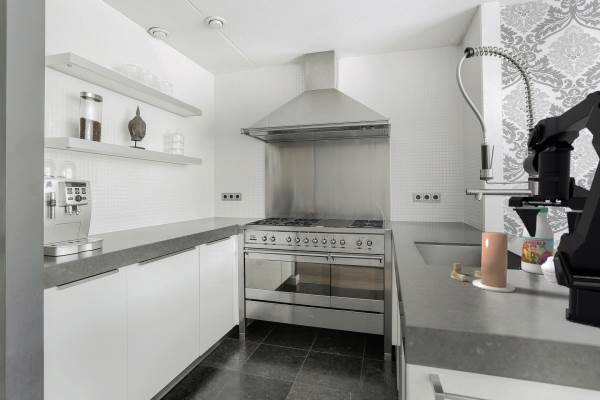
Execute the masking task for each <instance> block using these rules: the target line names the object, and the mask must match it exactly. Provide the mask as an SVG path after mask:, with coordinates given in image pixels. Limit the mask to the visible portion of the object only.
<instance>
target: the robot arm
mask: <svg viewBox="0 0 600 400" xmlns="http://www.w3.org/2000/svg"><path fill="white" fill-rule="evenodd" d="M585 129H587V130H588V131H589V132H590V133H591V135H592V140H591V145H592V148H593V149H594V151H595V152H596V155H597V157H598V159H599V160H598V163H597V165H596V169H595V172H594V175H593V178H592V181H591V185H590V188H589V189H586V187H585V188H584V186H580V185H577V184H576V178H575V177H574V176H571V158H572V157H571V154H572V153H571V152H572V151H574V150H575V147H574V145H573V143H574V142H575V140H576V139H578V138H579V137H580V132H581V131H582V130H585ZM529 135H530V136H529V138H528V140H527V143H526V146H527V151H528V152H531V154H530V155H528V156H527V157H526V158H525V159H524V160H523V163H522V167H523V170H524V172H526V173H527V174H528V175H530V176H535V177H533V183H535V182H536V183H537V194H533V195H532V196H529V195H527V196H522V195H521V196H519V195H517V196H514V195H513V196H510V197H509V199H508V207H509V208H512V211H514V212H516V214H517V216H518V218H519V219H520V220H521V222H522V224H523V225H524V228H525V227H526V229H527V231H528V233H529V235H530V237H535V235H536V225H537V215H538V213H539V212H540V210H541V209H535V207H554V208H569V209H570V210H571V211H566V218H567V219H566V220H567V227H568V228H567V229H568V232H563V233H562V235H561V236H560V239H559V243H558V246H557V247H556V252H554V258H553V262H554V268H555V276H556V279H557V282H558V283H557V286H561V287H566V288H567V289H568V308H565V320H566V321H569V322H575V323H580V324H584V325H588V326H589V325H590V326H593V327H598V328H600V90H594V91H592V92H589V93H588V94H587V95H586V97H585V98H584V99H583V100H582V101H580V102H577V104H575V105H574V106H572V107H570V108H569V109H568V110H566V111H565V112H563V113H561V114H560V115H556V116H550V117H546V118H542V119H540V120H539V121H538V122H537V123H536V124H535V125H534V127H533V129H532V131H531V133H530V134H529ZM559 201H560V202H559Z"/></svg>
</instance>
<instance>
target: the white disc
mask: <svg viewBox="0 0 600 400" xmlns="http://www.w3.org/2000/svg"><path fill="white" fill-rule="evenodd" d="M472 286H474V287H476V288H477V289H478V288H479V289H482V290H485V291H490V292H494V293H495V292H496V293H513V292H515V290H516V289H515V286H514V285H512V284H510V283H507V287H505V288H496V287H490V286H486V285H483V284H481V278H479V279H474V280H472Z"/></svg>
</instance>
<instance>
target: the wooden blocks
mask: <svg viewBox="0 0 600 400" xmlns="http://www.w3.org/2000/svg"><path fill="white" fill-rule="evenodd" d="M452 264H453V265H452V271H450V278H452V279H454V280H457V281H460V282H463V283H464V282H466V279H467V277H466V276H467V275H464V274H462V263H460V262H458V263H457V262H456V263H455V262H454V263H452ZM474 276H475V277H477V278H479V279H481V271H480V270H474Z"/></svg>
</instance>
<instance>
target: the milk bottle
mask: <svg viewBox="0 0 600 400" xmlns="http://www.w3.org/2000/svg"><path fill="white" fill-rule="evenodd" d="M535 209H541V210H540V212H539V213H538V215H537V225H536V235H535V237H530V235H529V233H528V231H527V229H526V227H525V226H524V228H523V230H522V239H521V240H522V241H521V261H520V262H521V264H520V265H521V270H522V271H524V272H528V273H532V274H538V275H544V274H543V272H542V271H543V270H542V269H541V265H542V264H544V263H545V262H546V261H547V258H549V257H552V256H554V255H555V248H554V247H555V246H554V245H555V237H554V236H555V235H554V230H553V228H552V226H551V224H550V222H549V220H548V215H549V206H538V207H535Z"/></svg>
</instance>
